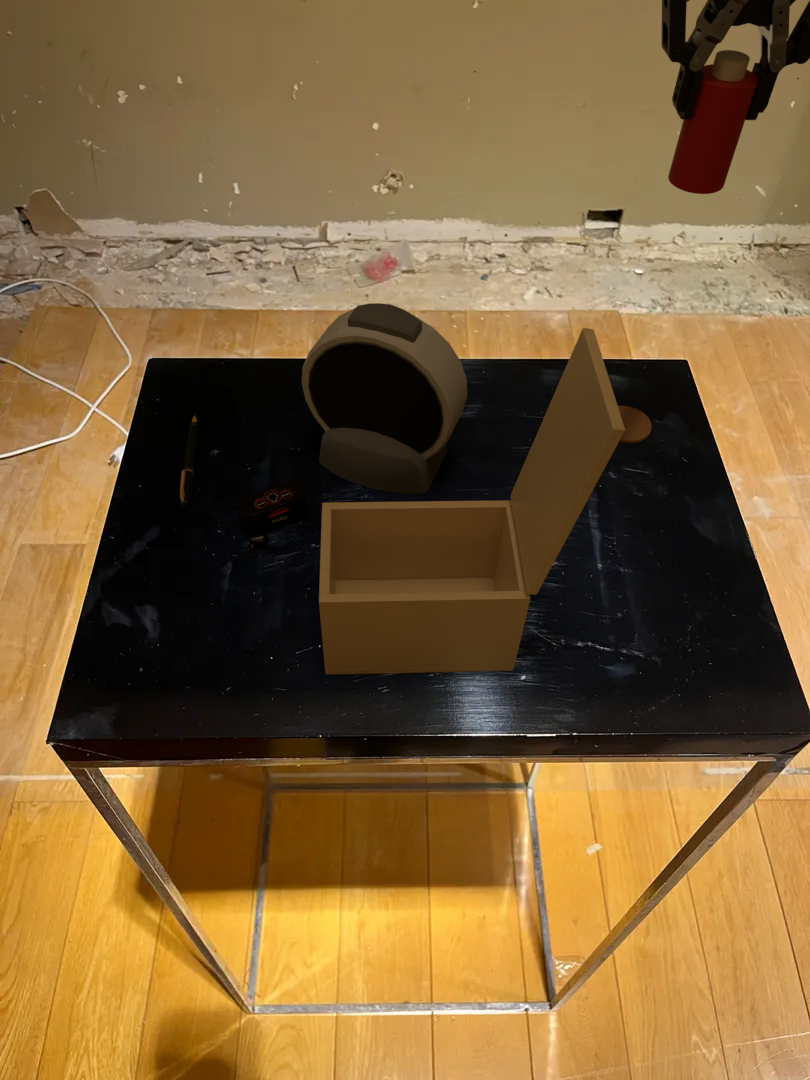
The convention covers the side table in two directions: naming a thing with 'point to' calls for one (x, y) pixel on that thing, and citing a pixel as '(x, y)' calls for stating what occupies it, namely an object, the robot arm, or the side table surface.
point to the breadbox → (420, 587)
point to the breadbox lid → (565, 459)
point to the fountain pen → (189, 465)
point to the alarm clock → (384, 397)
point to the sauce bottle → (714, 125)
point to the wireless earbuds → (271, 509)
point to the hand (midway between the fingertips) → (715, 115)
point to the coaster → (634, 425)
